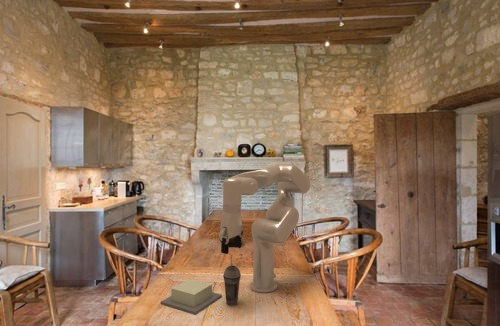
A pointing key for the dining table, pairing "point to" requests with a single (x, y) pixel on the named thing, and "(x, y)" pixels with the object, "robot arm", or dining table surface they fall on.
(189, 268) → the dining table surface
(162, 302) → the plinth
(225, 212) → the robot arm
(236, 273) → the beverage cup
